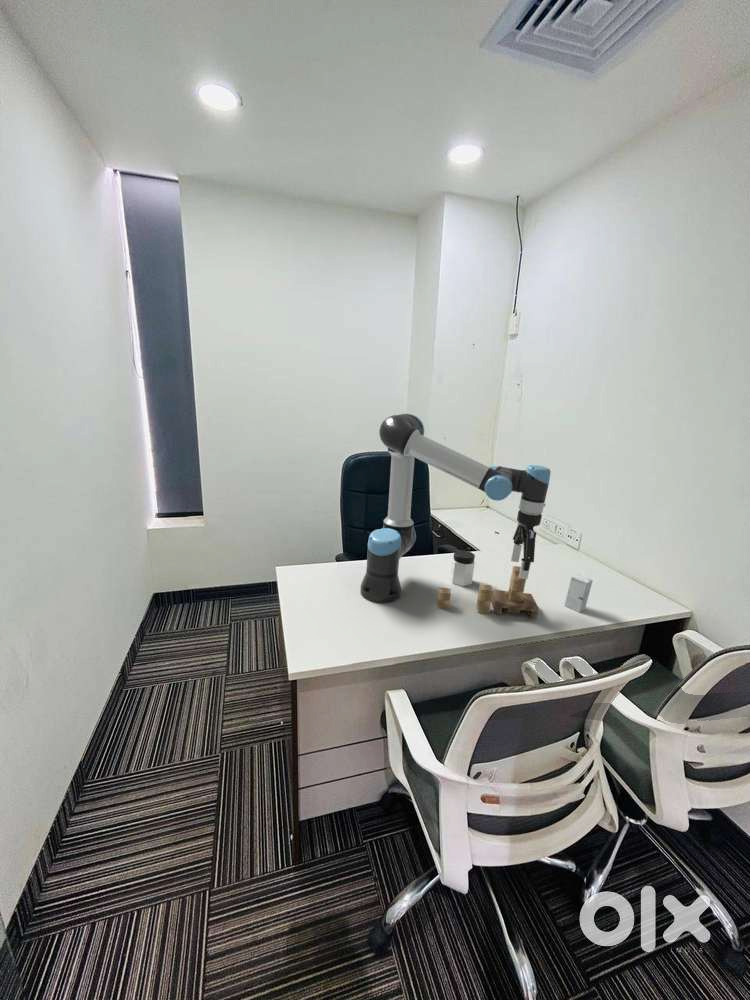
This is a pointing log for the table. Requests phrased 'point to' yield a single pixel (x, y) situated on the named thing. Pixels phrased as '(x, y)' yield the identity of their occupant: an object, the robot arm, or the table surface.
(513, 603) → the bridge
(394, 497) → the robot arm
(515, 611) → the peg long
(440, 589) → the peg short
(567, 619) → the table surface
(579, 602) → the skincare box
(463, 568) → the jar
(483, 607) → the peg mid
